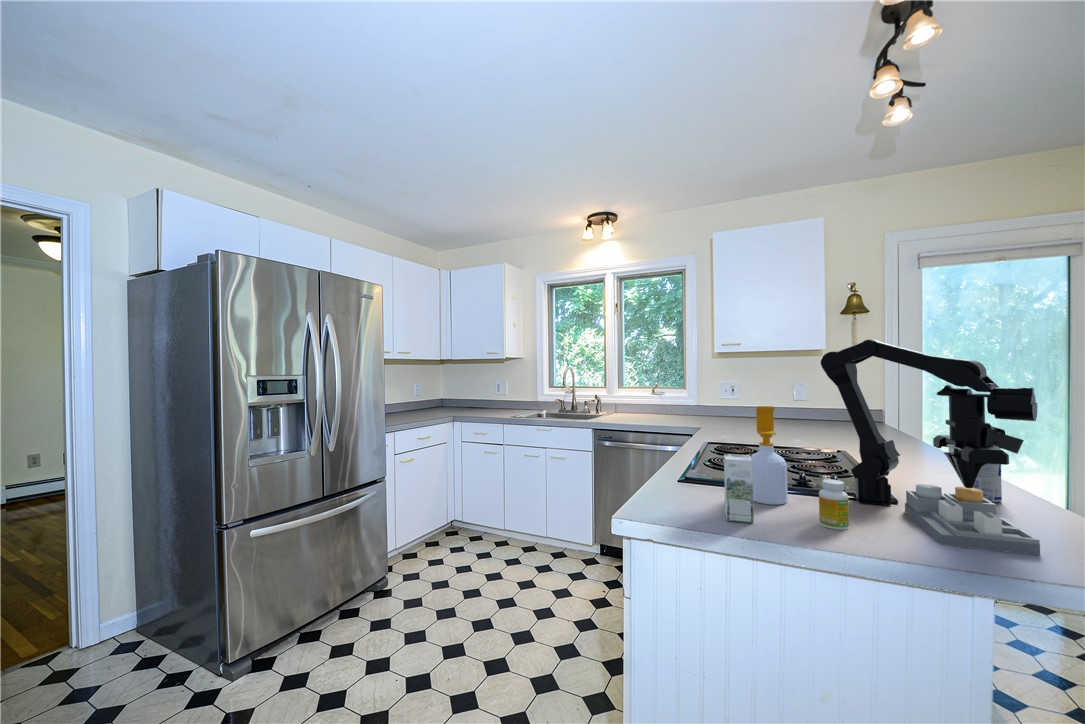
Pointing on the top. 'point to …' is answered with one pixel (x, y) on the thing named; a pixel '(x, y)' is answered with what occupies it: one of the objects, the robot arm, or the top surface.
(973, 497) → the button
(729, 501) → the syrup box
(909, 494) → the panel
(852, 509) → the top surface
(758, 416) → the soap bottle
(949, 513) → the slider
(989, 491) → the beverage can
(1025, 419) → the robot arm
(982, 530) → the slider
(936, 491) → the button
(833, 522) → the supplement bottle
